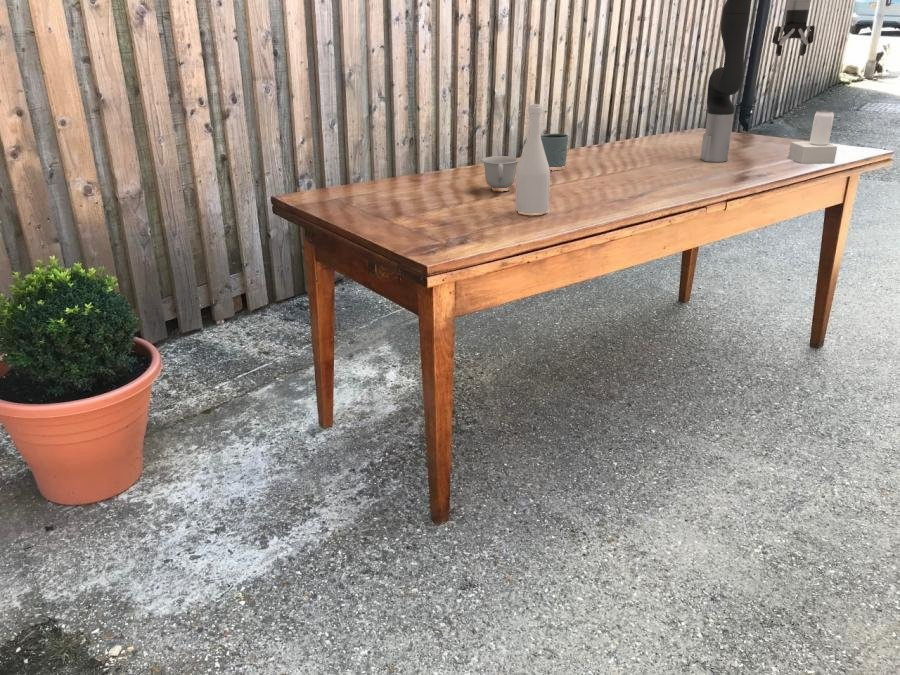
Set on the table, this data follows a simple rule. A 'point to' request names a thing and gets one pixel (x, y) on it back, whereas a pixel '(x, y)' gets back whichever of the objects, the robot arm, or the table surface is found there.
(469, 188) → the table surface
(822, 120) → the can
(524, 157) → the wine bottle
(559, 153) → the green cup
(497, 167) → the teacup
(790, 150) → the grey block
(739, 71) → the robot arm
